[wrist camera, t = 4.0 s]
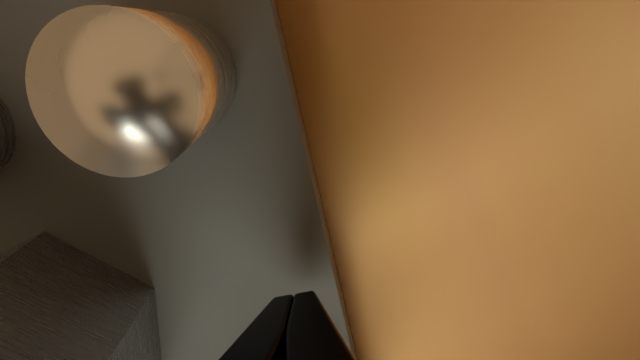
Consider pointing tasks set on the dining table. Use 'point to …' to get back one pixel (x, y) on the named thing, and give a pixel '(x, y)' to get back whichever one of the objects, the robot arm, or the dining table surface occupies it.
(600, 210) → the dining table surface
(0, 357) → the steel nut
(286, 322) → the robot arm
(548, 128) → the dining table surface
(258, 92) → the mat
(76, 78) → the standoffs
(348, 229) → the dining table surface
